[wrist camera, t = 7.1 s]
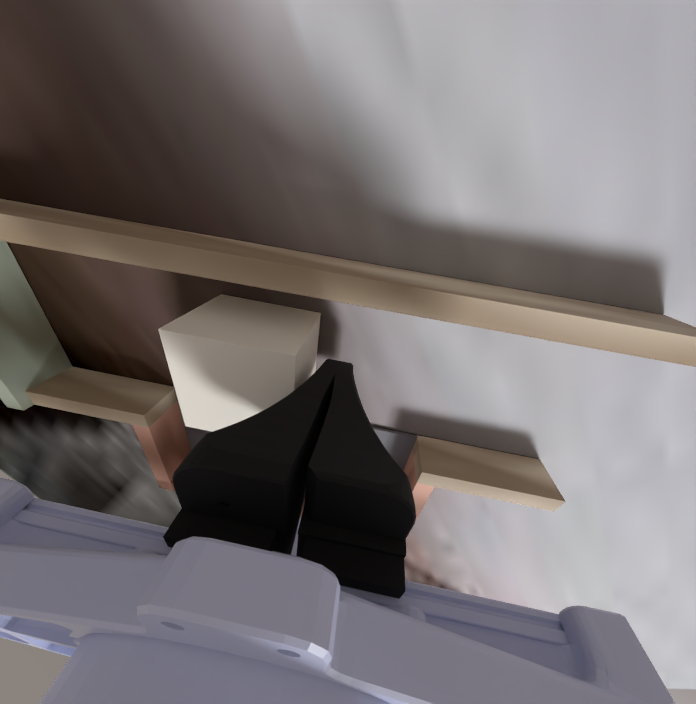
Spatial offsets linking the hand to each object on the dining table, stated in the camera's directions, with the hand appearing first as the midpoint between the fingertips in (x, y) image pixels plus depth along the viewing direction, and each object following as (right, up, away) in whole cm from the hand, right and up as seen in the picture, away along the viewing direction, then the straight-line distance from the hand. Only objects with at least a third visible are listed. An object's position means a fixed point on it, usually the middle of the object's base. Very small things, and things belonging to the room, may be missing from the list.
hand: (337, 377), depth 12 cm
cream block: (-4, +1, +1) cm, 4 cm away
